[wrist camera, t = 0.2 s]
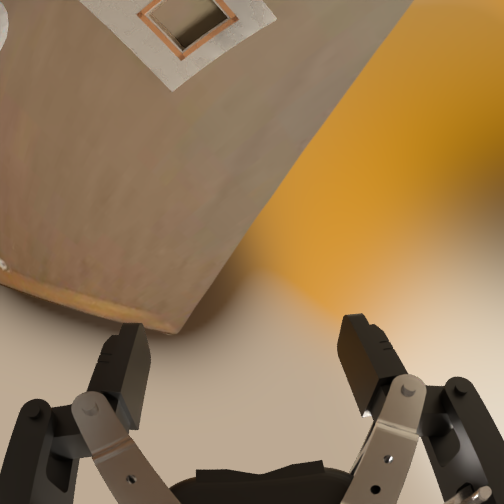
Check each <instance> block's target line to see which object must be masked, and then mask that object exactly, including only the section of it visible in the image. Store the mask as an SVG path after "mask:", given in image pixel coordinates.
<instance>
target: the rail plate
mask: <svg viewBox="0 0 504 504" xmlns="http://www.w3.org/2000/svg"><path fill="white" fill-rule="evenodd" d="M79 1H80V2H81V3H82V4H83V5H85V6H86V7H87V8H88V9H89V10H90V11H91V12H92V13H93V14H94V15H95V16H96V17H97V18H98V19H99V20H101V21H102V22H103V23H104V24H105V25H106V26H107V27H108V28H109V29H110V30H111V31H112V32H113V33H114V34H115V35H116V36H117V37H118V38H119V39H120V40H121V41H122V42H123V43H124V44H125V45H126V46H127V47H128V48H129V49H130V50H131V51H132V52H133V53H134V54H135V55H136V56H137V57H138V58H139V59H140V60H141V61H142V62H143V63H144V64H145V65H146V66H147V67H148V68H149V69H150V70H151V71H152V72H153V73H154V74H155V75H156V76H157V77H158V78H159V79H160V80H161V81H162V82H163V83H164V84H165V85H166V86H167V87H168V88H169V89H170V90H171V91H172V92H173V91H174V90H175V89H177V88H178V87H179V86H180V85H182V84H183V83H184V82H185V81H187V80H188V79H189V78H191V77H192V76H193V75H194V74H196V73H197V72H198V71H200V70H201V69H202V68H204V67H205V66H207V65H208V64H209V63H211V62H212V61H213V60H215V59H216V58H218V57H219V56H221V55H222V54H223V53H225V52H226V51H228V50H229V49H231V48H232V47H234V46H235V45H237V44H238V43H240V42H241V41H243V40H244V39H246V38H247V37H249V36H251V35H252V34H254V33H255V32H257V31H259V30H260V29H262V28H264V27H265V26H267V25H269V24H270V23H272V22H274V21H275V20H277V18H276V17H275V16H274V14H273V13H272V12H271V10H270V9H269V8H268V7H267V5H266V4H265V3H264V2H263V0H213V1H214V3H215V4H216V5H217V6H218V7H219V8H220V9H221V10H222V12H223V13H224V14H225V15H226V16H227V17H228V18H226V19H225V20H223V21H222V22H220V23H219V24H218V25H216V26H215V27H213V28H212V29H210V30H209V31H208V32H206V33H205V34H203V35H202V36H201V37H199V38H198V39H197V40H195V41H194V42H193V43H191V44H190V45H189V46H187V47H186V48H184V47H183V46H182V45H181V44H180V42H179V41H178V40H177V39H176V38H175V37H174V36H173V35H172V34H171V33H170V32H169V31H168V30H167V29H166V28H165V27H164V26H163V25H162V24H161V23H160V22H159V21H158V20H157V19H156V18H155V17H154V16H153V15H152V14H151V13H152V12H154V11H155V10H156V9H157V8H158V7H160V6H161V5H162V4H163V3H165V2H166V1H167V0H79Z"/></svg>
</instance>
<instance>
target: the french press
mask: <svg viewBox="0 0 504 504" xmlns="http://www.w3.org/2000/svg"><path fill="white" fill-rule="evenodd" d="M8 26H9V23H8V14H7V11H6V9H5V7H4V5H3V4H2V2H0V50H1V48H2V46H3V44H4V42H5V40H6V37H7V31H8Z"/></svg>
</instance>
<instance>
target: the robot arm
mask: <svg viewBox="0 0 504 504" xmlns="http://www.w3.org/2000/svg"><path fill="white" fill-rule="evenodd" d="M337 351H338V357H339V359H340V362H341V364H342V367H343V369H344V372H345V374H346V377H347V379H348V382H349V385H350V387H351V390H352V392H353V395H354V397H355V400H356V403H357V405H358V408H359V411H360V413H361V416H362V417H367V416H372V418H373V420H374V421H373V423H372V425H371V427H370V430H369V432H368V434H367V436H366V439H365V441H364V443H363V446H362V448H361V450H360V452H359V454H358V456H357V458H356V460H355V462H354V464H353V466H352V468H351V469H350V471H349V473H347V472H344V471H341V470H337V469H333V468H326V467H324V466H323V462H322V460H320V461H313V462H307V463H300V464H292V465H289V466H286V467H284V468H281V469H277V470H275V471H271V472H268V473H265V474H252V473H245V472H240V471H234V470H227V469H221V470H196V477H193V478H189V479H186V480H183V481H181V482H179V483H177V484H175V485H173V486H172V487H170V488H168V487H167V486H166V485H165V483H164V482H163V481H162V479H161V478H160V477H159V475H158V474H157V473H156V471H155V470H154V469H153V467H152V466H151V465H150V463H149V462H148V461H147V459H146V458H145V456H144V455H143V454H142V452H141V451H140V449H139V448H138V447H137V445H136V444H135V442H134V441H133V439H132V438H130V436H129V435H128V434H129V429H130V430H138V429H139V423H140V417H141V411H142V406H143V400H144V395H145V390H146V385H147V380H148V374H149V370H150V364H151V355H150V349H149V346H148V342H147V338H146V334H145V330H144V326H143V324H142V323H123V325H122V327H121V330H120V333H119V335H112V336H111V337H110V338H109V339H108V340H107V341H106V342H105V343H104V345H103V348H102V350H101V355H100V356H99V358H98V363H97V364H96V367H95V369H94V372H93V375H92V377H91V380H90V383H89V386H88V389H87V392H85V393H82V394H80V395H79V396H77V397H76V398H75V400H74V401H73V403H72V404H71V405H67V406H60V407H54V408H51V407H50V405H49V404H48V403H47V402H46V401H44V400H42V399H33V400H30V401H28V402H27V403H25V404H24V405H23V407H22V408H21V410H20V413H19V415H18V418H17V421H16V424H15V427H14V430H13V433H12V436H11V439H10V442H9V446H8V448H7V452H6V455H5V458H4V462H3V466H2V469H1V473H0V504H73V499H74V491H75V484H76V477H77V471H78V465H79V459H80V458H84V457H91V456H92V459H93V461H94V463H95V465H96V467H97V469H98V471H99V472H100V474H101V476H102V478H103V479H104V481H105V483H106V484H107V486H108V488H109V489H110V491H111V493H112V494H113V496H114V497H115V499H116V500H117V502H118V504H396V503H397V500H398V498H399V495H400V492H401V490H402V487H403V485H404V482H405V479H406V476H407V473H408V471H409V468H410V465H411V462H412V458H413V455H414V452H415V449H416V445H417V442H418V438H419V437H421V439H422V441H423V443H424V446H425V449H426V451H427V454H428V457H429V459H430V462H431V465H432V468H433V470H434V473H435V476H436V479H437V482H438V484H439V488H440V490H441V493H442V496H443V499H444V502H445V503H444V504H504V440H503V438H502V436H501V434H500V433H499V431H498V429H497V427H496V425H495V423H494V421H493V419H492V417H491V416H490V414H489V412H488V410H487V409H486V406H485V405H484V403H483V401H482V399H481V398H480V396H479V394H478V392H477V391H476V389H475V387H474V386H473V384H472V383H471V382H470V381H469V380H467V379H465V378H462V377H453V378H451V379H449V380H448V381H447V382H446V384H445V386H427V385H425V384H424V382H423V381H422V380H421V379H419V378H418V377H416V376H414V375H410V374H408V373H407V371H406V369H405V367H404V366H403V364H402V362H401V360H400V359H399V357H398V355H397V353H396V352H395V350H394V349H393V347H392V345H391V343H390V342H389V340H388V338H387V336H386V335H385V333H384V331H382V330H381V329H380V328H379V327H377V326H376V325H375V324H372V325H369V323H368V321H367V319H366V318H365V316H364V315H363V314H362V313H361V314H350V315H345V316H344V317H343V320H342V325H341V330H340V334H339V339H338V343H337Z"/></svg>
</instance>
